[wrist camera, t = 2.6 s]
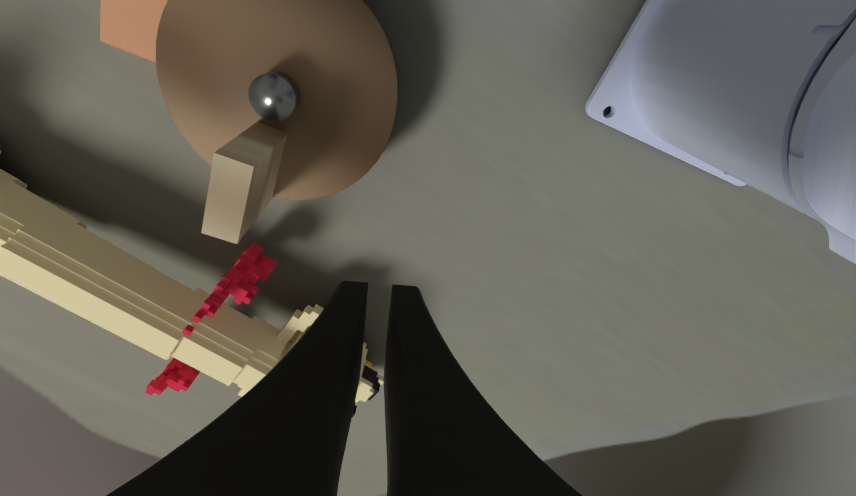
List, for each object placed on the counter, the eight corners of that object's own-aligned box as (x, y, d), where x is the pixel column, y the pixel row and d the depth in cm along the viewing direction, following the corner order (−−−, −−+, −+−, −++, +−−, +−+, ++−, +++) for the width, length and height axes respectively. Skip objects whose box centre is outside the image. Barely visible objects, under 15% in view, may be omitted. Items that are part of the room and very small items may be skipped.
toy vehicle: (-71, 201, 21) (335, 418, 28) (-371, 297, 13) (294, 566, 20) (-35, 31, 17) (425, 329, 24) (-426, 25, 9) (417, 470, 16)
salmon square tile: (179, 2, 16) (171, 2, 15) (173, 64, 17) (165, 66, 16) (111, -27, 15) (101, -28, 15) (109, 39, 16) (100, 40, 16)
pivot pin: (304, 81, 15) (299, 85, 14) (294, 122, 16) (288, 128, 15) (260, 63, 14) (253, 66, 14) (252, 106, 15) (244, 111, 15)
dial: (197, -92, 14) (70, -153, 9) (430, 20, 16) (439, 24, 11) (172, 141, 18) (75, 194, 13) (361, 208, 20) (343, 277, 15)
